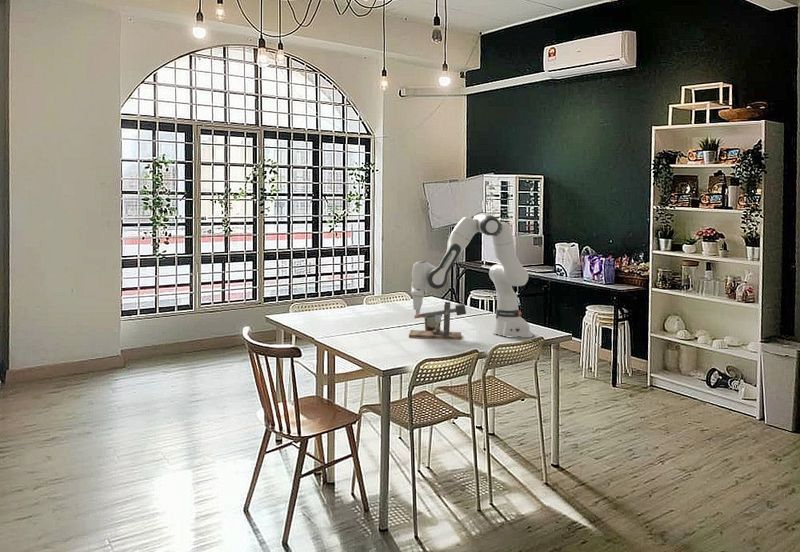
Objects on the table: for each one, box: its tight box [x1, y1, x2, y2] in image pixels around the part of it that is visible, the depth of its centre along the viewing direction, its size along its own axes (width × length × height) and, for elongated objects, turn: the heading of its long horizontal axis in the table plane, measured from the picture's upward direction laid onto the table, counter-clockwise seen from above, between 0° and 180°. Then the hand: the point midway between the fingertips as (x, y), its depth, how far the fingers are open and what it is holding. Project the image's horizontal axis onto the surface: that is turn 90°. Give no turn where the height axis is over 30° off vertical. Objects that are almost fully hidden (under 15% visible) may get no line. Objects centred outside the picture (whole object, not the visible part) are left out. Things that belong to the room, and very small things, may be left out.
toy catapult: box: [408, 301, 462, 341], centre depth 380 cm, size 28×12×18 cm, turn 84°
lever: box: [413, 302, 467, 323], centre depth 379 cm, size 28×5×7 cm, turn 83°
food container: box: [422, 311, 443, 331], centre depth 395 cm, size 12×6×10 cm, turn 130°
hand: (417, 315), depth 381 cm, fingers closed, pressing on lever
